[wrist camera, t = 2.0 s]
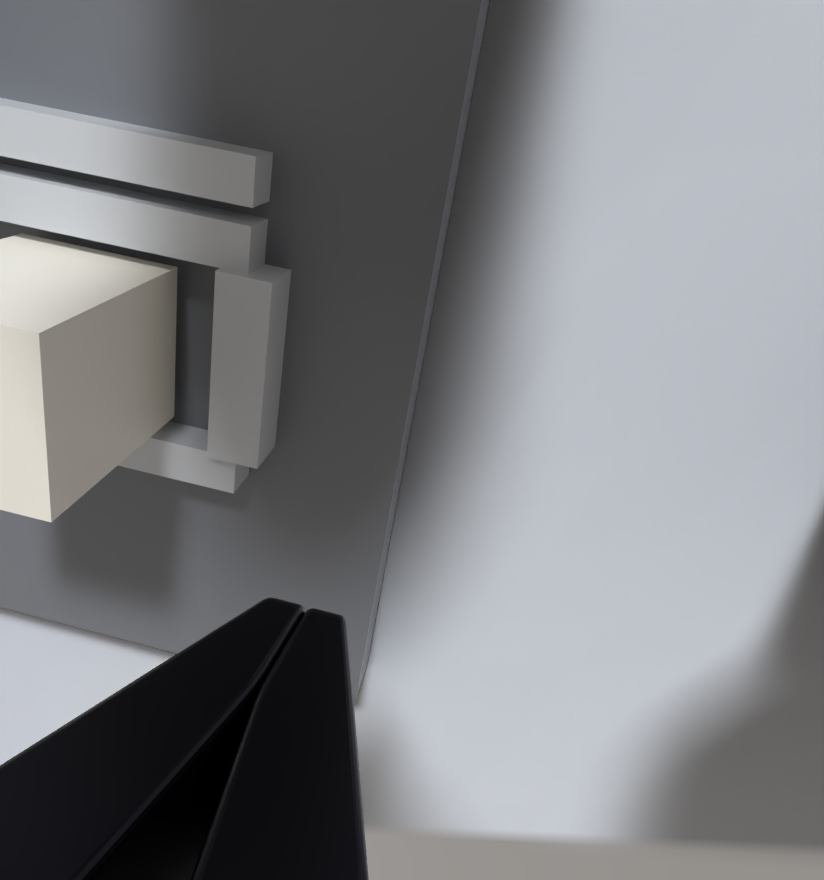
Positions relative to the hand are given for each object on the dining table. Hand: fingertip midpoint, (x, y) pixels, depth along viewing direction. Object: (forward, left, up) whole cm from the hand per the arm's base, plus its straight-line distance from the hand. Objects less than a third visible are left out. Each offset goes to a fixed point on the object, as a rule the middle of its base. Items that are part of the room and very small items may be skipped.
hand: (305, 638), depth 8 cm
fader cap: (+6, 0, -7) cm, 9 cm away
